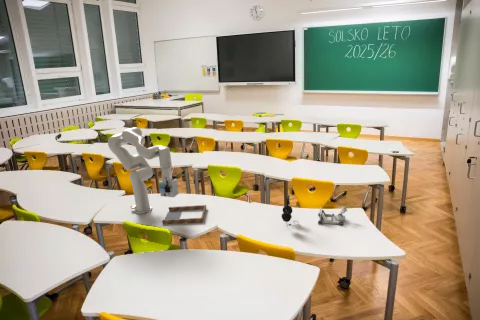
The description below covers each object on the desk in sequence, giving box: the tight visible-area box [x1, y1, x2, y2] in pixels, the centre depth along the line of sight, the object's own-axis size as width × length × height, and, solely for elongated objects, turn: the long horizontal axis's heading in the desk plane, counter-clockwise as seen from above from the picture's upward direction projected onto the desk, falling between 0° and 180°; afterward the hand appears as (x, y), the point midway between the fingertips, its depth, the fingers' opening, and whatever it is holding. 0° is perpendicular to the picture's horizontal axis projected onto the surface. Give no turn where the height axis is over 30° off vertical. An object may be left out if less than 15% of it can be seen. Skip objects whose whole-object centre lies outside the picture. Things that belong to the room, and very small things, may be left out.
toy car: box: [317, 205, 348, 226], centre depth 213 cm, size 18×10×12 cm
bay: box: [161, 204, 207, 225], centre depth 233 cm, size 28×21×3 cm
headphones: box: [281, 194, 301, 228], centre depth 209 cm, size 15×11×20 cm
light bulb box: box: [158, 178, 180, 198], centre depth 227 cm, size 11×7×11 cm, turn 71°
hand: (169, 189), depth 228 cm, fingers closed on light bulb box, 8 cm apart
